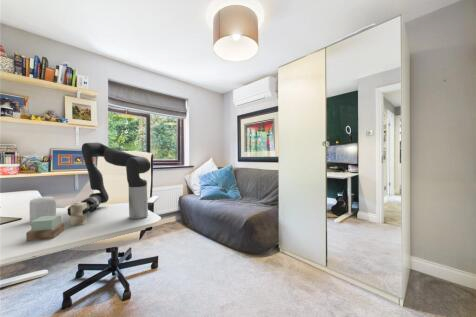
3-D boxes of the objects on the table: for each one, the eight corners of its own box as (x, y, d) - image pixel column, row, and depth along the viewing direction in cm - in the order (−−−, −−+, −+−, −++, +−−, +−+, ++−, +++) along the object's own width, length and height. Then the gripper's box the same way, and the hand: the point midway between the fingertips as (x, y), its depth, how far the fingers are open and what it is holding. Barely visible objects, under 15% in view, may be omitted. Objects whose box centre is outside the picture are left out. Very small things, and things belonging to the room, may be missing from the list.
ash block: (87, 221, 106) (86, 202, 106) (83, 224, 101) (82, 204, 101) (75, 222, 104) (74, 203, 104) (71, 225, 100) (70, 205, 99)
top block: (61, 223, 92) (60, 215, 92) (51, 229, 86) (51, 220, 86) (42, 225, 90) (41, 216, 90) (31, 231, 84) (30, 221, 84)
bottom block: (64, 231, 94) (64, 222, 94) (54, 239, 85) (53, 229, 85) (39, 233, 91) (39, 225, 91) (26, 242, 83) (26, 232, 82)
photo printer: (57, 217, 112) (56, 195, 112) (55, 219, 109) (54, 196, 108) (31, 220, 107) (30, 197, 106) (28, 223, 103) (27, 199, 103)
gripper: (74, 198, 114) (58, 206, 98) (103, 197, 118) (93, 204, 102) (74, 212, 114) (59, 222, 98) (104, 209, 119) (93, 219, 103)
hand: (76, 213), depth 100 cm, fingers closed on ash block, 5 cm apart
